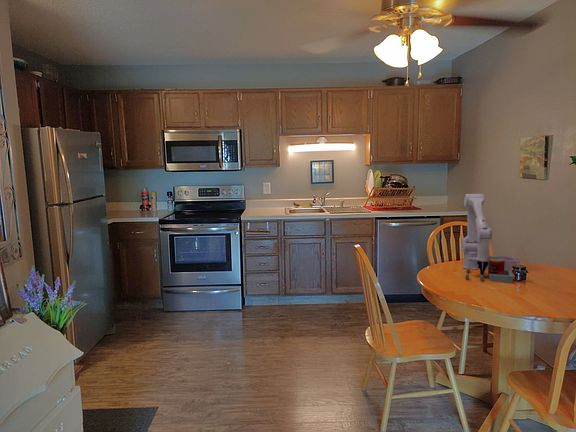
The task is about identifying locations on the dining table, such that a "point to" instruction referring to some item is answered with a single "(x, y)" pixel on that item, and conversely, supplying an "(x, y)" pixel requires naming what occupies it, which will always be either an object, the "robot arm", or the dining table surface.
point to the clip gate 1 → (467, 272)
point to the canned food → (496, 266)
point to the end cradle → (502, 277)
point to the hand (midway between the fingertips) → (482, 275)
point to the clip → (507, 262)
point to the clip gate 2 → (481, 277)
